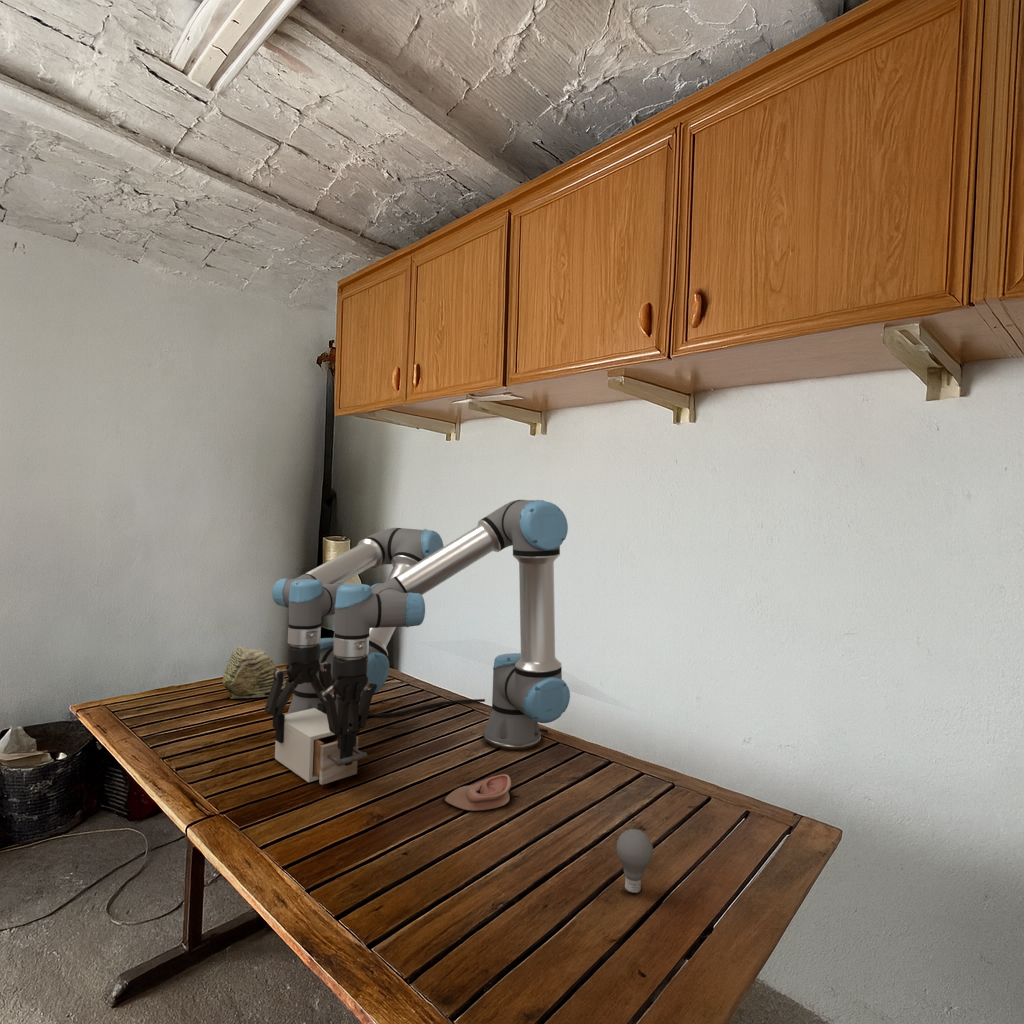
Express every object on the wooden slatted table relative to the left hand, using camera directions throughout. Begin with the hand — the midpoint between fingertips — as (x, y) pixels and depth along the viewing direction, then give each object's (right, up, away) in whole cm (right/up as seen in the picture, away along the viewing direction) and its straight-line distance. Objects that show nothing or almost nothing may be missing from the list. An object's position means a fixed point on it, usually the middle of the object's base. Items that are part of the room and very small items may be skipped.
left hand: (300, 735), depth 153 cm
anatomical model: (+44, -8, -17) cm, 48 cm away
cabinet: (+4, -5, -4) cm, 8 cm away
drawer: (+9, -5, -9) cm, 14 cm away
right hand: (+15, -1, -15) cm, 21 cm away
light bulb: (+71, -9, -47) cm, 86 cm away
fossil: (-30, -3, +45) cm, 54 cm away
